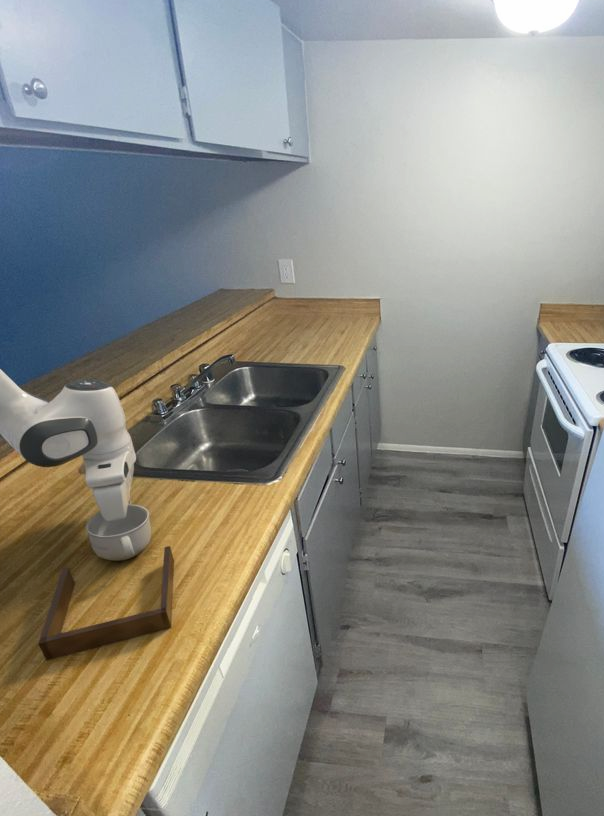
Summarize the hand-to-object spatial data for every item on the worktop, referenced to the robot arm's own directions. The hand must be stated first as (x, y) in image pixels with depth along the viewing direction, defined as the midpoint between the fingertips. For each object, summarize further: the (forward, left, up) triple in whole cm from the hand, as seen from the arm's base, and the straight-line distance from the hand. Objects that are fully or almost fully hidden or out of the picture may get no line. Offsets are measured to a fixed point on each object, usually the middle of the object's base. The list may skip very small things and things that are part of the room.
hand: (126, 510), depth 101 cm
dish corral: (0, -22, -4) cm, 23 cm away
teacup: (0, -9, -5) cm, 10 cm away
